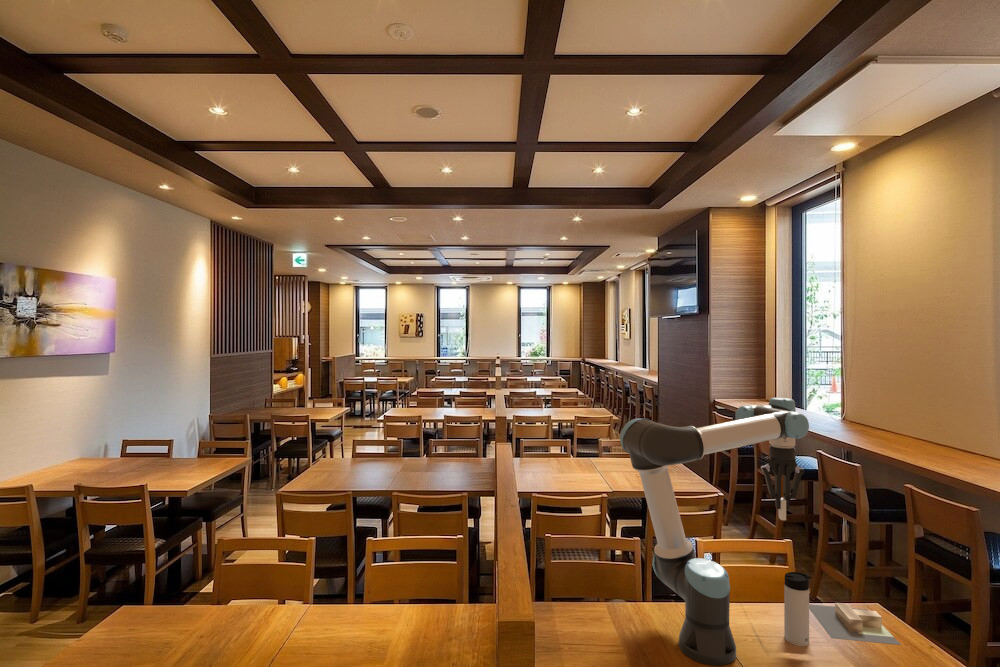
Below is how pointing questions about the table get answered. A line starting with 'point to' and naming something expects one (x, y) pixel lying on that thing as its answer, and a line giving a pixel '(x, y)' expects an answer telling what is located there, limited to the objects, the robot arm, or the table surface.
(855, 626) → the T block
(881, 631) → the mat
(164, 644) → the table surface
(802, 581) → the travel mug
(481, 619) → the table surface
